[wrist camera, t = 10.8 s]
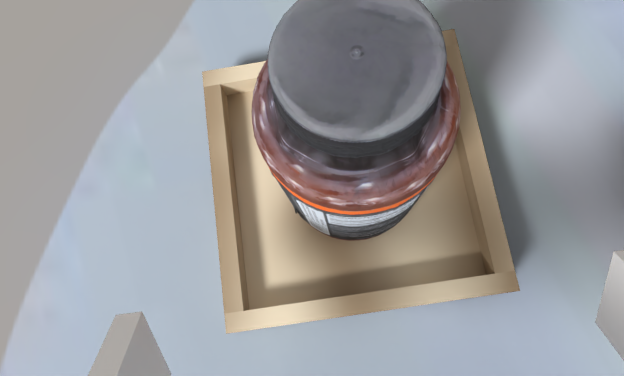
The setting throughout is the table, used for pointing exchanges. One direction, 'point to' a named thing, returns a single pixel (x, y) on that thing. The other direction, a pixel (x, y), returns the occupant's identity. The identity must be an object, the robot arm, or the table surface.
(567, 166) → the table surface
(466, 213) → the birch tray
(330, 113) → the supplement bottle
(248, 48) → the table surface
